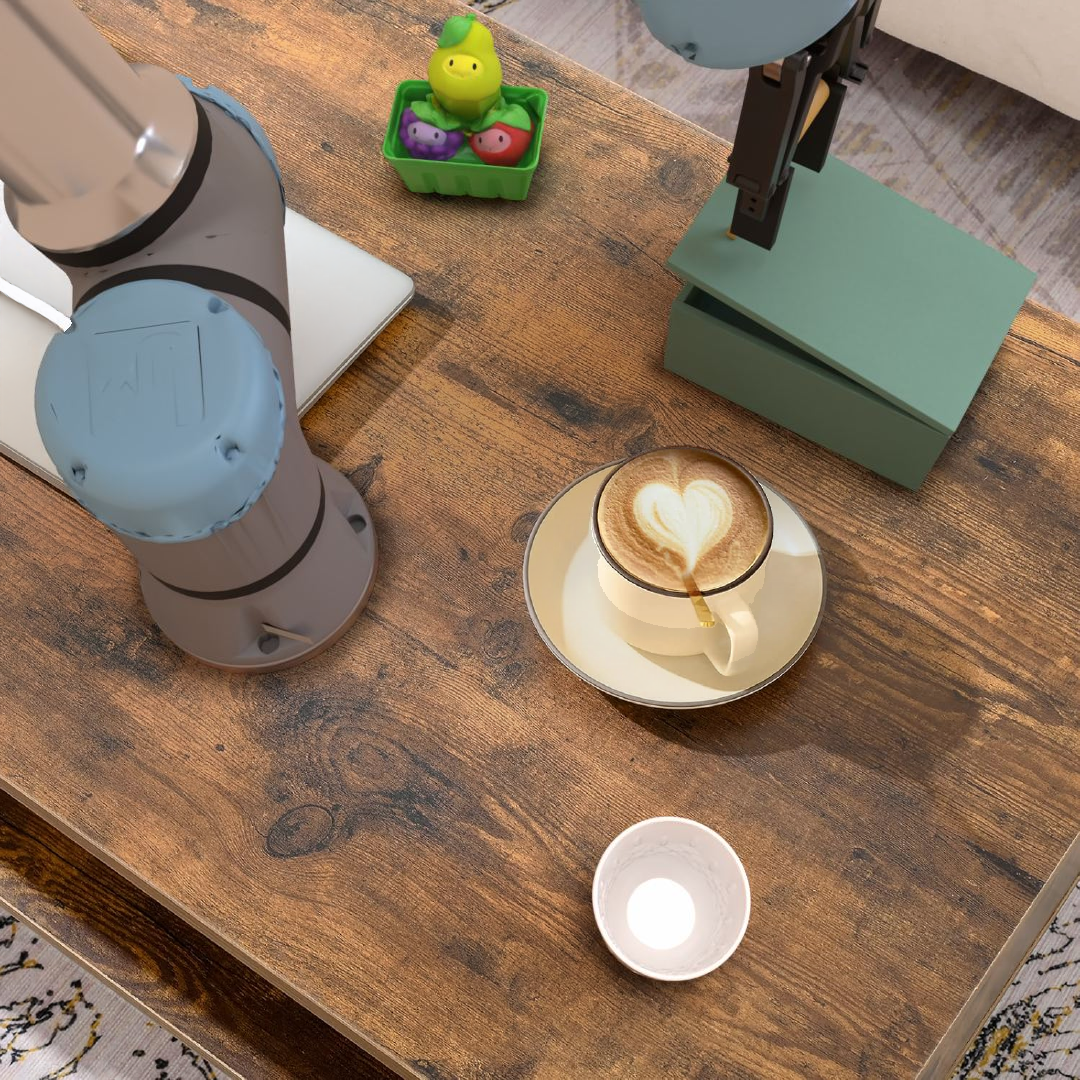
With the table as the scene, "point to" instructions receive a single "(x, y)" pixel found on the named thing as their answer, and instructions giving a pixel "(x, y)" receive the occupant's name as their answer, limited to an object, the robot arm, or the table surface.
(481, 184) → the fruit basket
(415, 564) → the table surface
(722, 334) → the chest
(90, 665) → the table surface
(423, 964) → the table surface
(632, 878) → the white cup
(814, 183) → the lid
